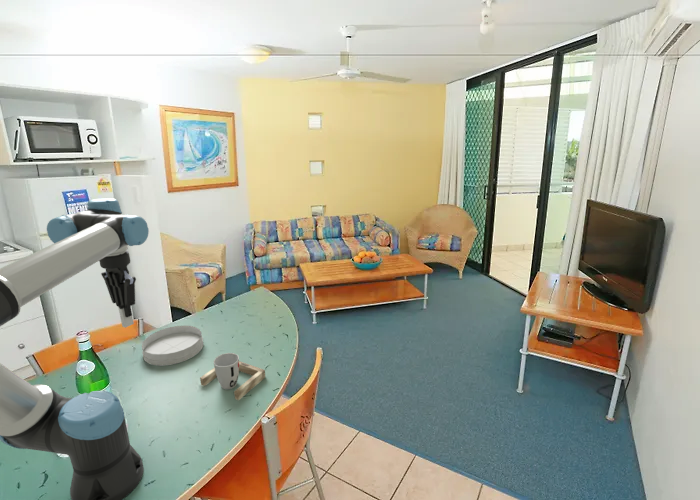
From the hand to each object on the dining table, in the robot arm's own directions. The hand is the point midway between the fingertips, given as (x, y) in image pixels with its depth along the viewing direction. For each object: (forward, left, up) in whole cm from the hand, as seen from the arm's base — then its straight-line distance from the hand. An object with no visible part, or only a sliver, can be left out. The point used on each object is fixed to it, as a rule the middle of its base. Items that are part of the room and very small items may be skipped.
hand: (128, 325), depth 114 cm
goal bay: (+19, -21, -26) cm, 39 cm away
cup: (+18, -21, -27) cm, 38 cm away
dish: (+24, +15, -27) cm, 39 cm away
